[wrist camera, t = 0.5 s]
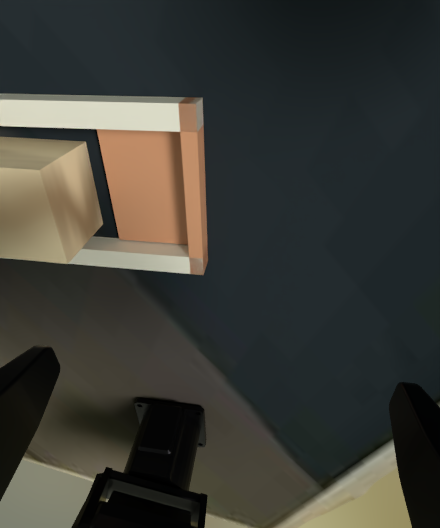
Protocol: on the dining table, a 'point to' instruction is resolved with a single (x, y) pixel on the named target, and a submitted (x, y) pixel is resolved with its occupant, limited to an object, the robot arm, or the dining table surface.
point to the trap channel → (137, 174)
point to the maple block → (46, 199)
